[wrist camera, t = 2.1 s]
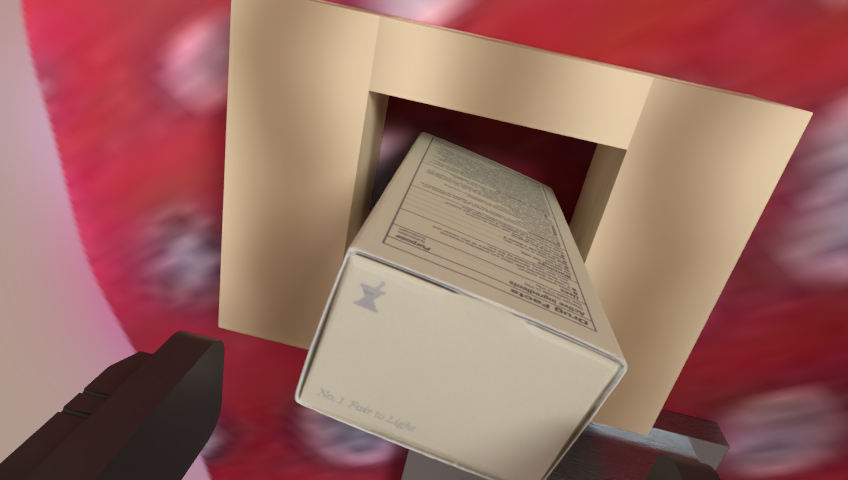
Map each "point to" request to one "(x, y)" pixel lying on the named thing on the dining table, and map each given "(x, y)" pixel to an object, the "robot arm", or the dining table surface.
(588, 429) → the cradle block
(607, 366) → the skincare box
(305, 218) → the tan rectangular frame
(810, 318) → the dining table surface
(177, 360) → the robot arm
